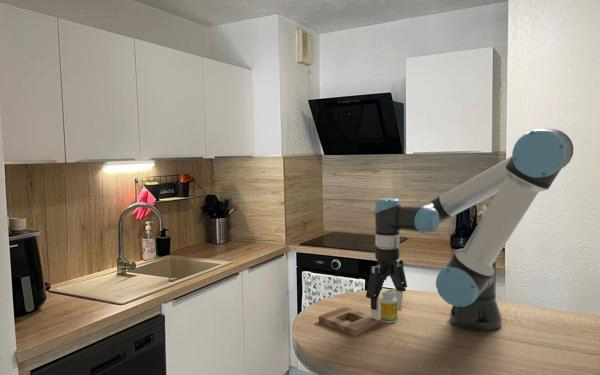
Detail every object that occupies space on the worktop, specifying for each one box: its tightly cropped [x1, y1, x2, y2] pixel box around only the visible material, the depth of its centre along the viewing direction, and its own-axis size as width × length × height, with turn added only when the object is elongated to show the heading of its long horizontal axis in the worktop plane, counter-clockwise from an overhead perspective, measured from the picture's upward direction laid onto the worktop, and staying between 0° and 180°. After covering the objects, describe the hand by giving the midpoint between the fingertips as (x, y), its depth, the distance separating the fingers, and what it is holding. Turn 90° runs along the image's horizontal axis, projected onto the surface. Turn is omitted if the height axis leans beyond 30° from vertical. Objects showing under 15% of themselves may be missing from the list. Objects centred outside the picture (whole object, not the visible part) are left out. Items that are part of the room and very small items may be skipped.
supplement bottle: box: [380, 289, 398, 324], centre depth 149 cm, size 5×5×10 cm
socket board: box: [318, 306, 382, 338], centre depth 148 cm, size 16×12×2 cm
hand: (387, 314), depth 149 cm, fingers open, 11 cm apart
